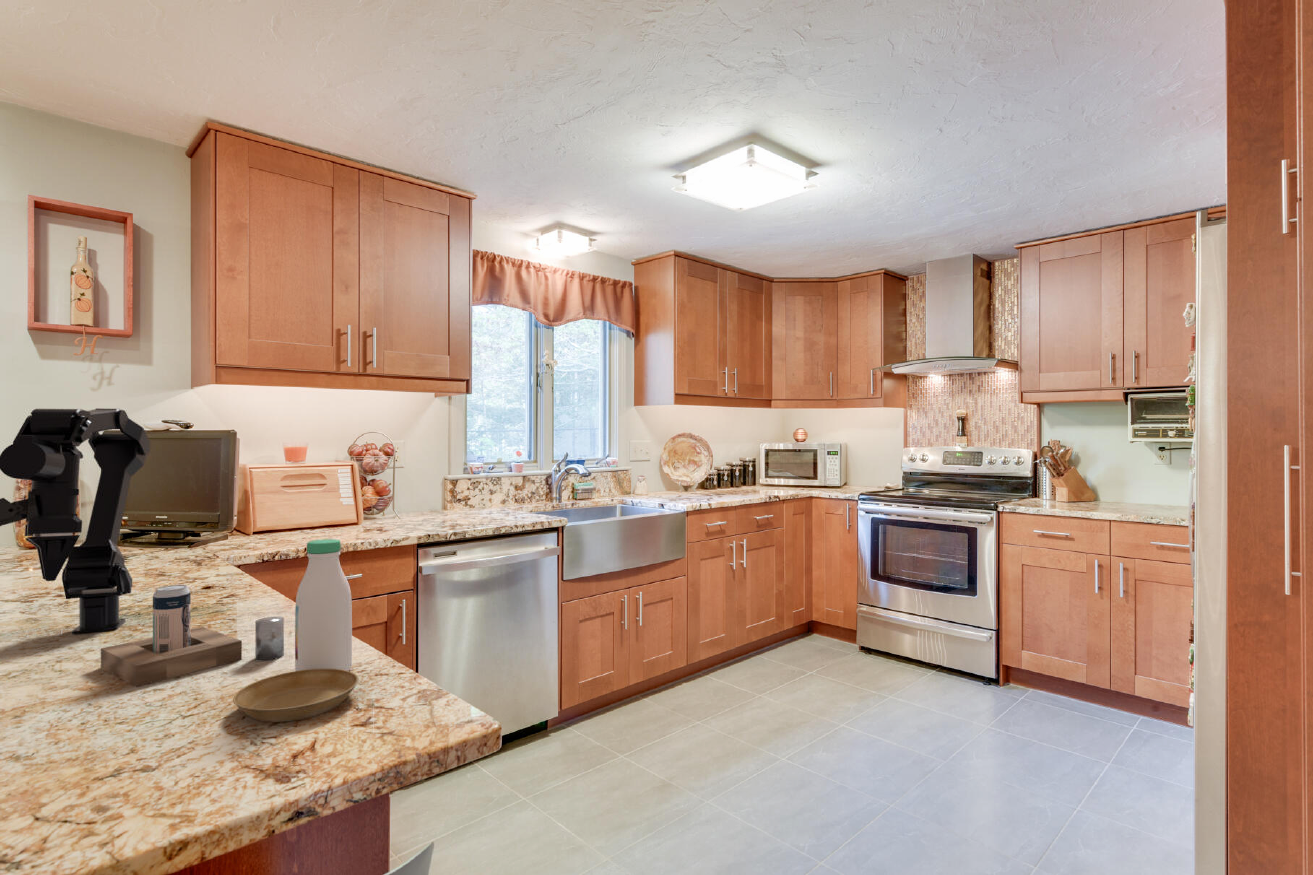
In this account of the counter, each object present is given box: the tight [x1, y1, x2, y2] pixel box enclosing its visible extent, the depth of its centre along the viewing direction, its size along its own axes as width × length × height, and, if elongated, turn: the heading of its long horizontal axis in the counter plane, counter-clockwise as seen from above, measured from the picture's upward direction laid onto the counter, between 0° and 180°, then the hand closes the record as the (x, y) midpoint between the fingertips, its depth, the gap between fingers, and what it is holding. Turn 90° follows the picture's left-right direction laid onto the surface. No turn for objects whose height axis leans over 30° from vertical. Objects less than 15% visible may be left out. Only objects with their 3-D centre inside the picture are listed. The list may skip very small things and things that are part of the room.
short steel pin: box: [254, 616, 285, 662], centre depth 108 cm, size 4×4×6 cm
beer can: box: [152, 584, 191, 654], centre depth 104 cm, size 5×5×12 cm
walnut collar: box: [100, 626, 243, 687], centre depth 104 cm, size 14×14×3 cm
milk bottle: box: [294, 538, 353, 671], centre depth 100 cm, size 8×8×20 cm
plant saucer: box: [232, 669, 360, 723], centre depth 88 cm, size 15×15×3 cm
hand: (48, 580), depth 107 cm, fingers open, 9 cm apart
